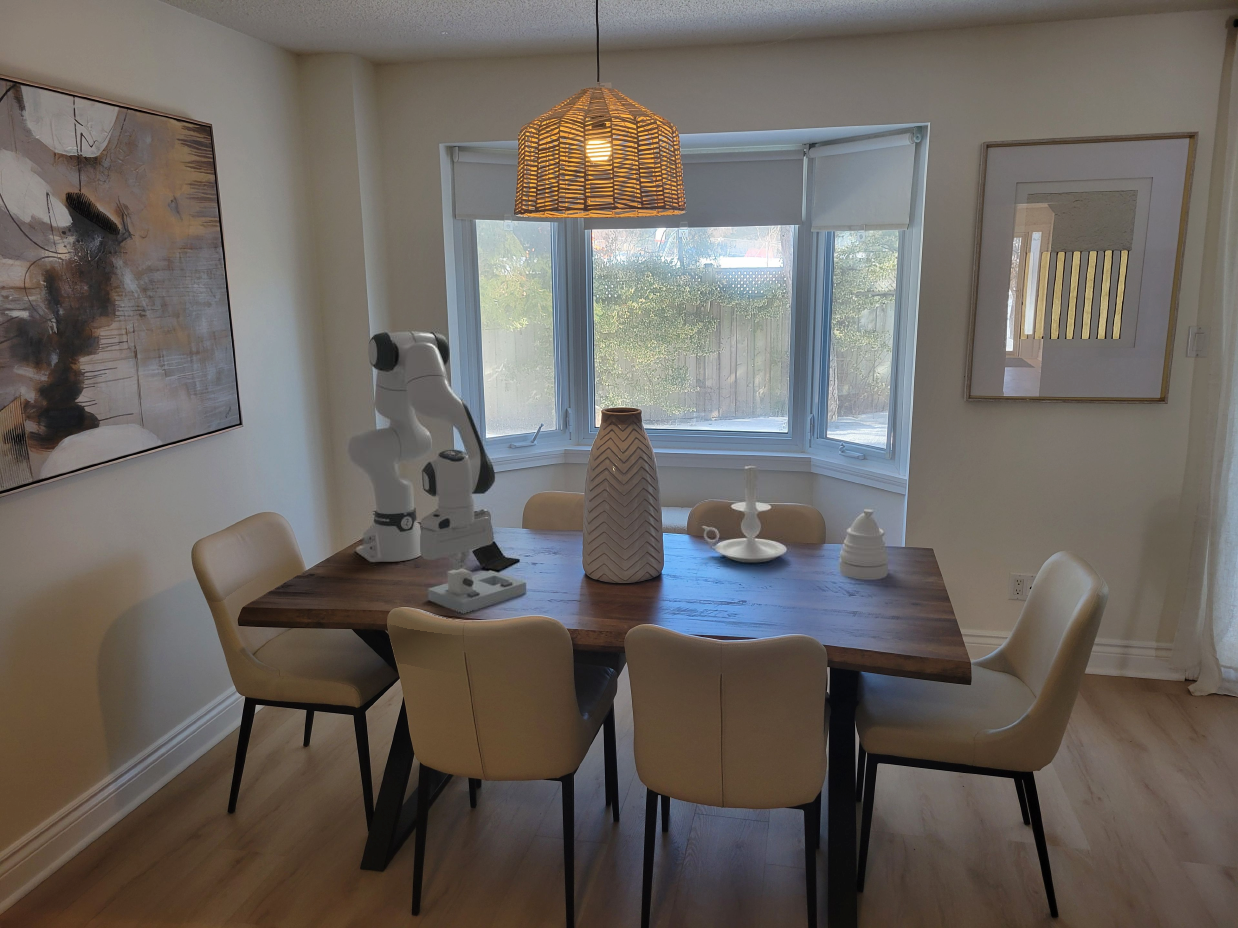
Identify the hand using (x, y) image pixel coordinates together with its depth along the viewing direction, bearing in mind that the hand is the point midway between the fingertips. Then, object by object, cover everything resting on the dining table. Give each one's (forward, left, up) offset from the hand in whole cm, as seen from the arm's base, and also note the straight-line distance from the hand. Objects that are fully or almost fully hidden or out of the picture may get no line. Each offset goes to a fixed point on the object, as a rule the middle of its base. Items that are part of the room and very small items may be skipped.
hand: (459, 568), depth 217 cm
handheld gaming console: (-18, +25, -9) cm, 32 cm away
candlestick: (+31, +77, -9) cm, 84 cm away
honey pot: (+64, +88, -9) cm, 109 cm away
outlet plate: (0, +5, -9) cm, 10 cm away
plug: (0, 0, -9) cm, 9 cm away
